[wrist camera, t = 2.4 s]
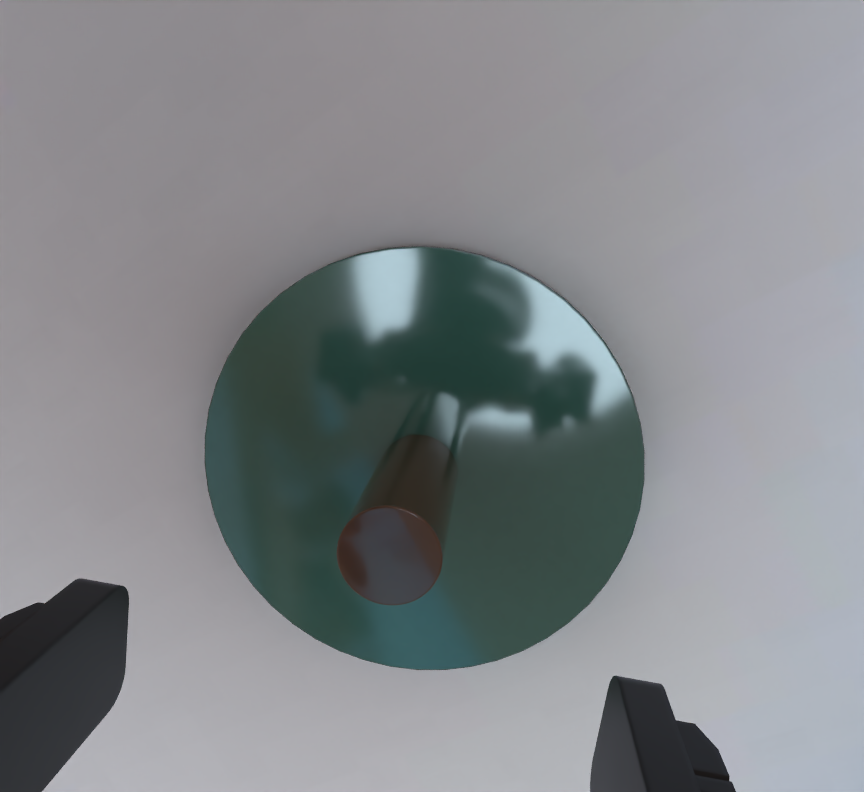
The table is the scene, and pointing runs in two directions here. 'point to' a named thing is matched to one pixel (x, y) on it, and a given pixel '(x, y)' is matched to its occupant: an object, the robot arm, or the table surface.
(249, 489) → the lid
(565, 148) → the table surface
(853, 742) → the table surface
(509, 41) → the table surface
